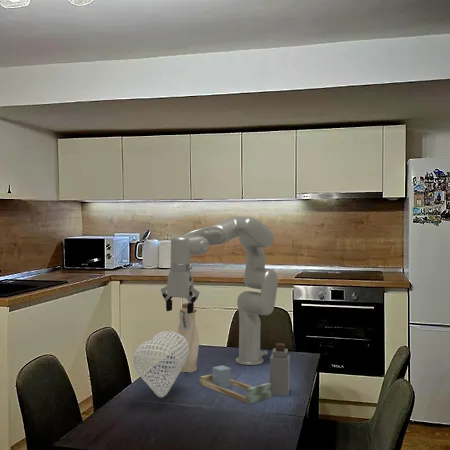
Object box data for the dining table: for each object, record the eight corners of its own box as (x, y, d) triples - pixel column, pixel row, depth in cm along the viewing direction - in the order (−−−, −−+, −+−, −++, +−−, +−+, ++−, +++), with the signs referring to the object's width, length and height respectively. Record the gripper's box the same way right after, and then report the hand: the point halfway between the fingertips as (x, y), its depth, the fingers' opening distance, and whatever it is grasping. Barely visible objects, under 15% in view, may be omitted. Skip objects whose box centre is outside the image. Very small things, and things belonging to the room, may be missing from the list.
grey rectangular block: (222, 383, 216) (222, 365, 215) (230, 386, 212) (230, 368, 212) (212, 385, 212) (212, 367, 212) (220, 388, 209) (220, 370, 208)
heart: (170, 412, 183) (170, 346, 183) (126, 408, 187) (127, 343, 186) (193, 386, 211) (193, 328, 210) (154, 383, 214) (155, 326, 213)
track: (221, 379, 221) (221, 366, 220) (271, 397, 199) (271, 383, 199) (199, 384, 213) (199, 371, 213) (248, 403, 192) (249, 389, 192)
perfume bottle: (287, 395, 201) (288, 346, 201) (269, 394, 202) (270, 345, 202) (289, 390, 208) (290, 342, 207) (271, 388, 209) (272, 341, 209)
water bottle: (197, 374, 227) (198, 306, 226) (175, 374, 227) (176, 306, 226) (199, 367, 237) (199, 302, 236) (178, 367, 237) (178, 302, 237)
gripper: (204, 268, 215) (203, 312, 215) (167, 266, 223) (166, 308, 223) (194, 270, 208) (193, 315, 208) (156, 267, 216) (155, 311, 216)
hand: (179, 311), depth 216 cm, fingers open, 9 cm apart
